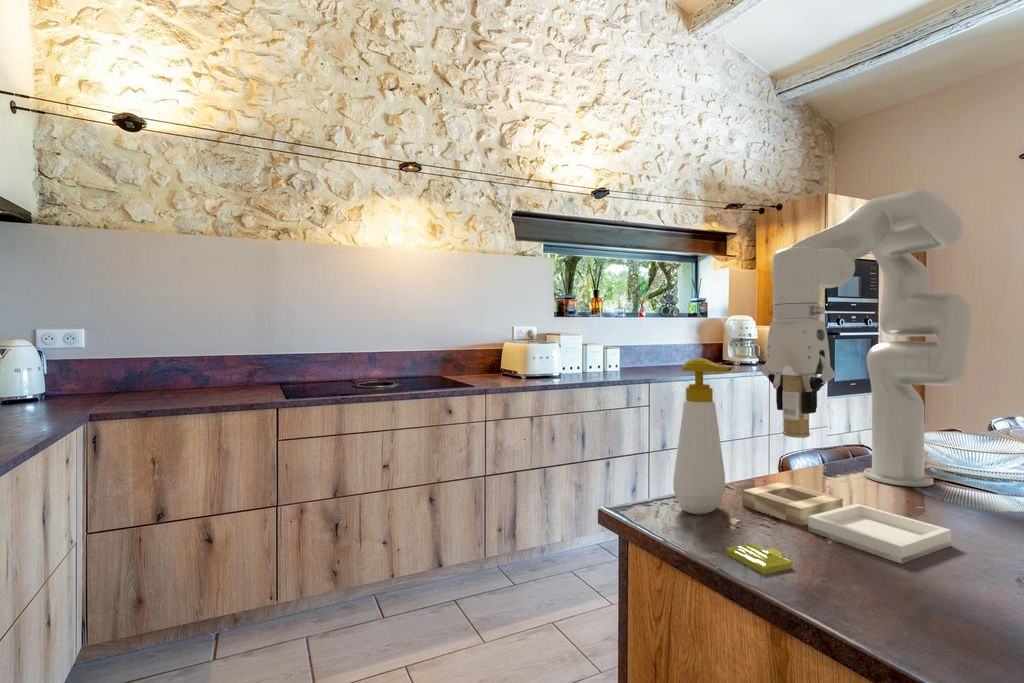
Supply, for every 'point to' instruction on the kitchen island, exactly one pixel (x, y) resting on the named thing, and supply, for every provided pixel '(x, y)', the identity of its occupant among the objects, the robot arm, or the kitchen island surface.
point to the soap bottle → (699, 445)
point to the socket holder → (789, 501)
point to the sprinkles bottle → (794, 405)
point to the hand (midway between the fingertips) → (796, 410)
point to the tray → (880, 532)
